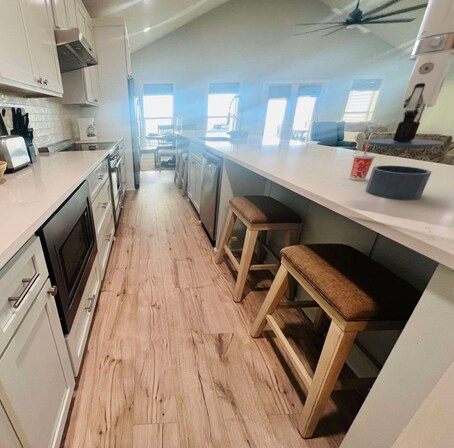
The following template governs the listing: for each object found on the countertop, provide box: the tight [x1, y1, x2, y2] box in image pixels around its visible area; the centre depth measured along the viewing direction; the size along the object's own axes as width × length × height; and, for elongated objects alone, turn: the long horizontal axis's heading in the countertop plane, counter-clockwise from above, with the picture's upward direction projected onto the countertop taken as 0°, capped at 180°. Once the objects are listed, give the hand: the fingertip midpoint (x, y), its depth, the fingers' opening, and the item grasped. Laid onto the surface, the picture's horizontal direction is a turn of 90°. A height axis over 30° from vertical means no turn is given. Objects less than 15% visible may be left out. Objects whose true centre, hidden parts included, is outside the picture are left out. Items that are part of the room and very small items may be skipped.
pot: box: [365, 165, 432, 201], centre depth 74 cm, size 13×13×8 cm
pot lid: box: [365, 138, 445, 150], centre depth 58 cm, size 14×14×6 cm
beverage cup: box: [349, 143, 376, 182], centre depth 89 cm, size 6×6×14 cm
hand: (403, 139), depth 58 cm, fingers closed on pot lid, 2 cm apart
